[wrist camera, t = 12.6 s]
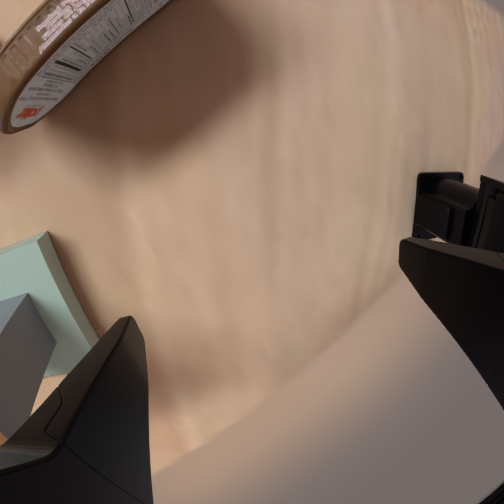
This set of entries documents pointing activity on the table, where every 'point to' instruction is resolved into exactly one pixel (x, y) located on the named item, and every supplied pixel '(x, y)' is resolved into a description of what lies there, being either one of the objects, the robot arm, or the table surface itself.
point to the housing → (21, 360)
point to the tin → (61, 53)
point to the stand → (48, 298)
